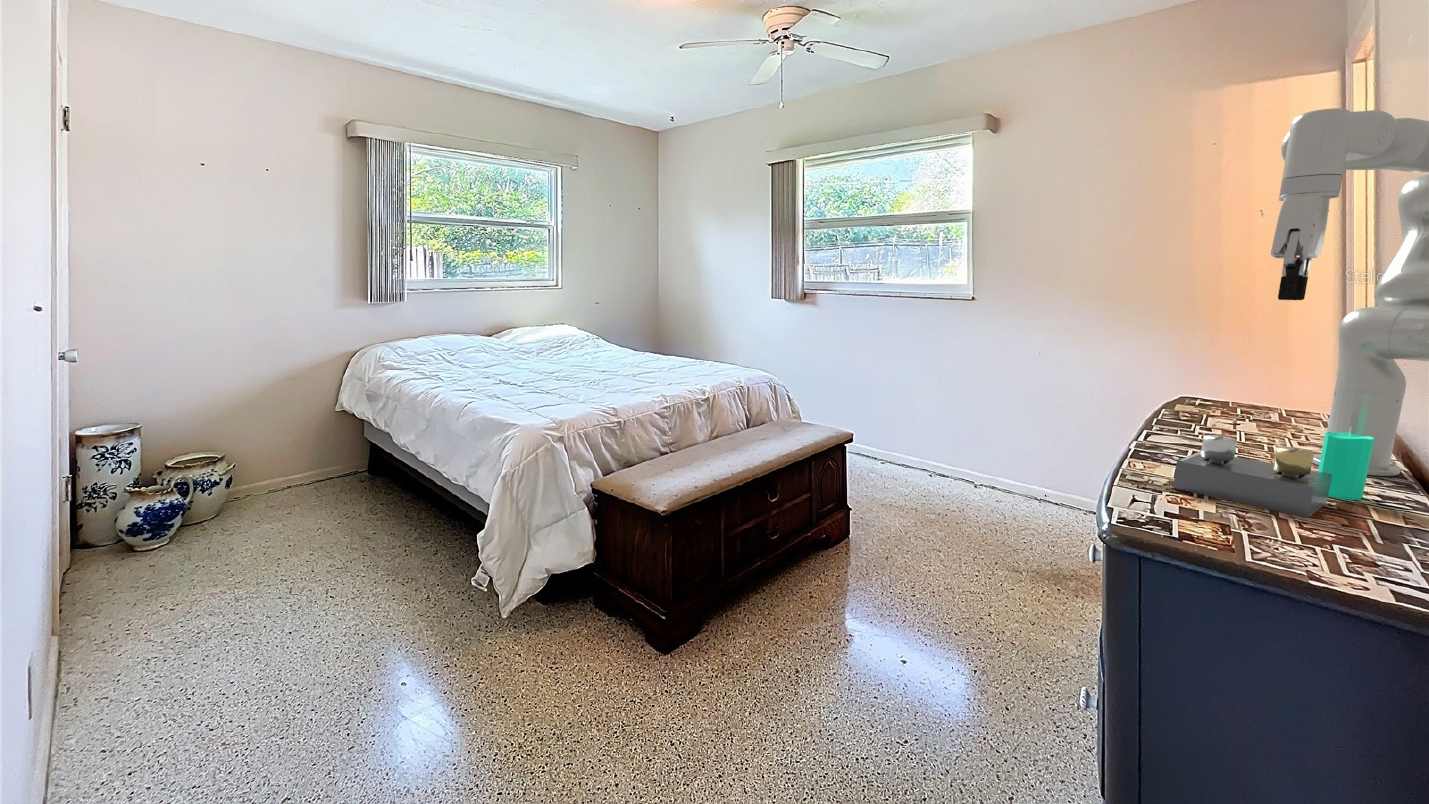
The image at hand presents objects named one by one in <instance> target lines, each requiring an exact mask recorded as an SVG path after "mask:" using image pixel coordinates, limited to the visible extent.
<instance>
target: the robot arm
mask: <svg viewBox="0 0 1429 804" xmlns="http://www.w3.org/2000/svg"><path fill="white" fill-rule="evenodd" d="M1280 148H1281V149H1280V150H1281V151H1280V152H1281V156H1282V159H1283V161H1284V165H1283V166H1284V167H1283V170H1282V178H1281V184H1280V190H1279V194H1278V196H1279V197H1278V201H1279V202H1282V203H1281V207H1280V209H1279V210H1280V211H1279V214H1278V218H1277V222H1276V227H1275V231H1274V235H1273V236H1274V237H1273V239H1272V244H1271V250H1270V256H1271V257H1273V258H1274V259H1282V260H1283V264H1282V270H1281V277H1280V282H1279V288H1278V295H1277V300H1279V301H1303V300H1305V297H1306V292H1307V291H1306V290H1307V285H1308V280H1309V272H1310V267H1311V264H1312V259H1316V258H1318V257H1319V256H1321V253H1322V249H1323V247H1324V242H1325V241H1324V240H1325V235H1326V230H1327V225H1328V217H1329V212H1330V210H1329V209H1330V201H1331V199H1335V198H1340V192H1341V187H1342V180H1343V175H1344V171H1377V170H1378V171H1379V170H1387V171H1398V172H1409V173H1410V172H1411V173H1428V174H1423V175H1420V176H1417V177H1415V178H1412V179H1411V180H1409V181H1408V182H1407V183H1404V185H1403V187H1402V188H1401V190H1400V192H1399V194H1398V198H1397V200H1398V201H1397V208H1398V216H1399V222H1400V228H1401V229H1400V230H1401V233H1402V242H1401V245H1400V246H1399V248H1398V250H1397V252H1396V254H1395V255H1394V257H1393V259H1392V260H1391V262H1390V263H1389V265H1388V267H1387V268H1386V270H1385V271H1384V273H1383V275H1382V276H1381V278H1380V279H1379V281H1378V283H1377V285H1376V287H1375V291H1374V300H1375V302H1376V303H1377V304H1378V305H1379V306H1370V307H1362V308H1359V309H1355V310H1353V311H1351V312H1349V313H1348V314H1346V315H1345V316H1344V317H1343V319H1342V320H1341V322H1340V323H1339V328H1338V352H1339V355H1338V356H1339V357H1338V358H1339V359H1338V369H1337V373H1336V374H1337V375H1336V381H1335V387H1334V393H1333V397H1332V402H1331V408H1330V414H1329V418H1328V423H1327V429H1326V432H1333V433H1349V432H1350V427H1352V428H1351V434H1354V435H1357V436H1369V437H1373V438H1374V443H1373V448H1372V453H1371V458H1370V463H1369V468H1368V473H1367V476H1374V477H1375V476H1377V477H1394V476H1398V475H1400V474H1401V467H1400V466H1398V465H1396V464H1393V463H1391V459H1392V455H1393V449H1394V446H1395V441H1396V435H1397V430H1398V427H1399V421H1400V416H1401V412H1402V411H1401V410H1402V407H1403V402H1404V397H1405V394H1406V388H1407V379H1406V376H1405V374H1404V372H1403V371H1402V369H1401V368H1400V366H1399V365H1398V363H1397V362H1396V360H1407V361H1419V362H1429V120H1424V119H1419V118H1418V119H1417V118H1412V117H1400V118H1395V117H1394V116H1393V115H1392V114H1390V113H1388V112H1387V111H1383V110H1377V109H1376V110H1375V109H1374V110H1373V109H1371V110H1360V111H1358V110H1357V111H1351V110H1349V109H1347V108H1342V107H1341V108H1339V107H1336V108H1324V109H1323V108H1322V109H1316V110H1312V111H1308V112H1305V113H1302V114H1299V115H1297V116H1296V117H1295V118H1294V119H1293V120H1292V123H1291V125H1290V129H1289V131H1288V133H1287V134H1286V135H1285V137H1284V138H1283V140H1282V143H1281V147H1280ZM1320 458H1321V453H1314V456H1313V461H1312V464H1314V465H1317V466H1319V463H1320Z"/></svg>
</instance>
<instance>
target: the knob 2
mask: <svg viewBox="0 0 1429 804" xmlns="http://www.w3.org/2000/svg"><path fill="white" fill-rule="evenodd" d="M1314 455H1315V452H1314V451H1313V450H1310V449H1305V448H1301V447H1296V446H1295V447H1294V446H1285V445H1284V446H1283V445H1282V446H1276V447H1275V452H1274V459H1273V469H1274V470H1277V471H1280V472H1282V475H1285V476H1290V477H1296V478H1298V476H1299V475H1308V474H1310V472H1311V470H1312V466H1313V465H1312V464H1313V462H1312V461H1313V456H1314Z"/></svg>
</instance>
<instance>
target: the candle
mask: <svg viewBox="0 0 1429 804" xmlns="http://www.w3.org/2000/svg"><path fill="white" fill-rule="evenodd" d="M1351 428H1352V427H1350V432H1349V433H1333V432H1327V431H1326V432H1325V433H1324V437H1323V443H1322V447H1321V448H1322V449H1321V452H1320V454H1321V458H1320V463H1319V465H1318V472H1324V473H1329V474H1332V478H1331V484H1330V489H1329V494H1328V497H1331V498H1336V499H1341V500H1351V501H1354V500H1355V501H1357V500H1359V501H1360V500H1361V498H1362V499H1363V497H1364V492H1365V487H1366V482H1367V477H1368V475H1367V473H1368V468H1369V463H1370V458H1371V453H1372V448H1373V443H1374V438H1373V437H1369V436H1357V435H1354V434H1351Z"/></svg>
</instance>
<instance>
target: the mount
mask: <svg viewBox="0 0 1429 804" xmlns="http://www.w3.org/2000/svg"><path fill="white" fill-rule="evenodd" d="M1273 463H1274V462H1273ZM1273 463H1272V462H1267V461H1262V460H1261V461H1260V460H1255V459H1250V458H1249V459H1248V458H1245V457H1244V458H1243V457H1239V456H1234V460H1232V461H1224V462H1223V464H1221V463H1215V462H1210V461H1209V458H1205V457H1202V456H1201V450H1200V451H1197V452H1195V453H1192V454H1191V455H1188V456H1186V457H1183V458H1180V459H1179V460H1176V463H1175V464H1176V465H1175V473H1174V478H1173V485H1172V486H1173V487H1172V489H1175V488H1176V489H1175V490H1179V489H1180V490H1179V491H1184V490H1185V492H1188V491H1190V492H1189V493H1193V492H1194V494H1196V495H1197V494H1198V495H1202V494H1204V495H1203V496H1206V495H1207V497H1211V498H1216V499H1220V500H1225V501H1229V502H1234V503H1239V504H1243V505H1247V506H1252V507H1256V508H1262V509H1265V510H1270V511H1274V512H1279V513H1282V514H1287V515H1292V516H1296V517H1302V518H1304V519H1305V518H1306V519H1309V518H1310V517H1311V516H1312V515H1314V514H1315V513H1316V512H1318V511H1319V510H1320V509H1321V508H1322V507H1324V506H1325V505H1326V504H1327V503H1328V499H1329V496H1328V494H1329V489H1330V484H1331V478H1332V474H1329V473H1324V472H1318V471H1317V470H1312V469H1311V472H1310V474H1308V475H1299V476H1298V478H1296V477H1290V476H1285V475H1282V472H1280V471H1277V470H1274V469H1273Z"/></svg>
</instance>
